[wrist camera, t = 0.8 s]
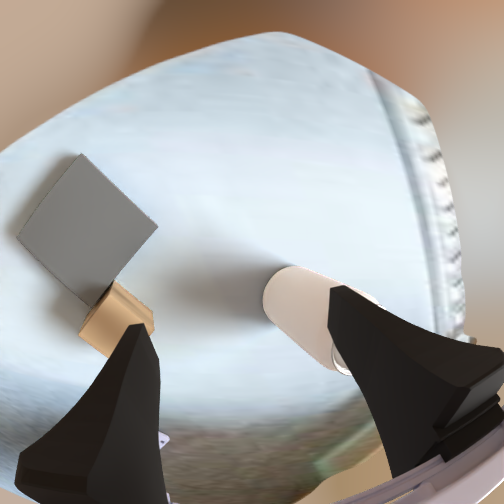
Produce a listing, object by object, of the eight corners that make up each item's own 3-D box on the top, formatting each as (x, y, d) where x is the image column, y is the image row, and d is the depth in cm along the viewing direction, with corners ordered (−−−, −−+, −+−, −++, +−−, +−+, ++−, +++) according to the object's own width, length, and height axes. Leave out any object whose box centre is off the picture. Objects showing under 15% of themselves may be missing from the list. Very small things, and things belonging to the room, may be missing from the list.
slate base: (94, 300, 25) (91, 308, 23) (24, 235, 22) (16, 237, 20) (157, 225, 26) (158, 226, 24) (85, 156, 23) (81, 152, 21)
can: (321, 309, 33) (397, 353, 22) (269, 334, 31) (333, 395, 20) (309, 255, 31) (392, 283, 20) (253, 278, 30) (319, 323, 18)
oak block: (124, 344, 26) (122, 367, 22) (86, 315, 25) (78, 335, 21) (152, 310, 27) (154, 330, 23) (114, 279, 25) (109, 294, 21)
